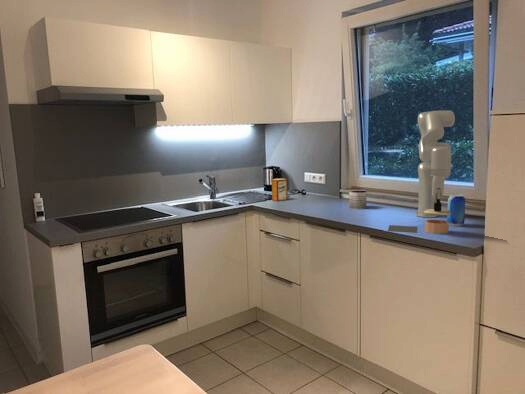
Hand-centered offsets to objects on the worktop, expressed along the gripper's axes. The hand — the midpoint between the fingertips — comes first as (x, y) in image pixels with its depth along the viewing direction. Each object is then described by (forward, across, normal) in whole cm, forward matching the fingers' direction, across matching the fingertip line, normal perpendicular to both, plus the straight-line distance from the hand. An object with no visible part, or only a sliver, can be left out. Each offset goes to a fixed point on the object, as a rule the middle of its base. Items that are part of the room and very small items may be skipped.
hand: (437, 209), depth 213 cm
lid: (+1, 0, 0) cm, 1 cm away
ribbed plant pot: (+11, -58, -46) cm, 75 cm away
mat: (+11, -1, -16) cm, 20 cm away
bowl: (+11, 0, 0) cm, 11 cm away
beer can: (+11, -19, +10) cm, 24 cm away
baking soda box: (+11, -75, -105) cm, 130 cm away
